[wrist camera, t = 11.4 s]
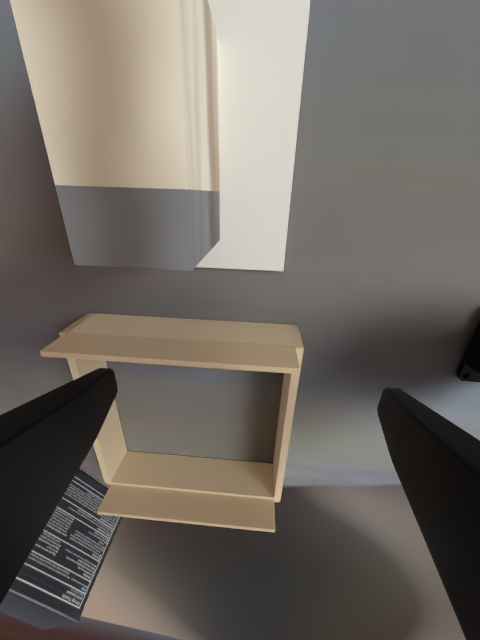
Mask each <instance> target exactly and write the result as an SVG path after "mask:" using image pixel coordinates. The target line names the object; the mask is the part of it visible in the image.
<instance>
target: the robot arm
mask: <svg viewBox="0 0 480 640" xmlns="http://www.w3.org/2000/svg"><path fill="white" fill-rule="evenodd" d="M465 373H466V374H465ZM464 374H465V375H464ZM456 376H457V377H458V378H459V379H460V380H462V381H473V382H480V323H479V325H478V327H477V329H476V331H475V333H474V336H473V338H472V340H471V342H470V344H469V346H468V348H467V351H466V353H465V355H464V357H463V359H462V361H461V363H460V365H459V368H458V370H457V372H456ZM116 394H117V383H116V379H115V374H114V371H113V370H112V369H111V368H98V369H96V370H94V371H92V372H90V373H88V374H86V375H84V376H81V377H79V378H77V379H75V380H73V381H71V382H69V383H67V384H65V385H63V386H61V387H58V388H56V389H54V390H52V391H50V392H48V393H46V394H44V395H42V396H40V397H38V398H35V399H33V400H31V401H29V402H27V403H25V404H23V405H21V406H19V407H17V408H15V409H12V410H10V411H8V412H6V413H4V414H2V415H0V605H1V603H2V602H3V600H4V598H5V596H6V595H7V593H8V591H9V589H10V588H11V586H12V584H13V582H14V581H15V579H16V577H17V576H18V574H19V572H20V570H21V569H22V567H23V565H24V563H25V562H26V560H27V558H28V556H29V555H30V553H31V551H32V549H33V548H34V546H35V544H36V543H37V541H38V539H39V537H40V536H41V534H42V532H43V530H44V529H45V527H46V525H47V523H48V522H49V520H50V518H51V516H52V515H53V513H54V511H55V510H56V508H57V506H58V504H59V503H60V501H61V499H62V497H63V496H64V494H65V492H66V490H67V489H68V487H69V485H70V483H71V482H72V480H73V478H74V477H75V475H76V473H77V471H78V470H79V468H80V466H81V464H82V463H83V461H84V459H85V457H86V456H87V454H88V452H89V450H90V449H91V447H92V445H93V444H94V442H95V440H96V438H97V436H98V434H99V432H100V430H101V428H102V426H103V424H104V421H105V419H106V417H107V415H108V412H109V410H110V408H111V406H112V404H113V401H114V399H115V397H116ZM377 411H378V416H379V420H380V423H381V426H382V430H383V433H384V436H385V440H386V443H387V446H388V450H389V453H390V456H391V459H392V462H393V464H394V467H395V470H396V472H397V474H398V477H399V479H400V482H401V484H402V486H403V489H404V491H405V494H406V496H407V498H408V501H409V503H410V506H411V508H412V510H413V513H414V515H415V518H416V520H417V522H418V525H419V527H420V530H421V532H422V535H423V536H424V539H425V542H426V544H427V547H428V549H429V551H430V554H431V556H432V559H433V561H434V563H435V566H436V568H437V571H438V573H439V576H440V578H441V580H442V583H443V585H444V588H445V590H446V592H447V595H448V597H449V599H450V602H451V604H452V607H453V609H454V612H455V614H456V616H457V619H458V621H459V624H460V626H461V628H462V631H463V633H464V636H465V638H466V640H480V441H479V440H478V439H476V438H475V437H473V436H472V435H470V434H468V433H467V432H465V431H464V430H462V429H461V428H459V427H458V426H456V425H455V424H453V423H452V422H450V421H449V420H447V419H445V418H444V417H442V416H441V415H439V414H438V413H436V412H435V411H433V410H432V409H430V408H429V407H427V406H425V405H424V404H422V403H421V402H419V401H418V400H416V399H415V398H413V397H412V396H410V395H409V394H407V393H405V392H404V391H402V390H401V389H399V388H388V387H387V388H385V389H384V390H383V392H382V395H381V398H380V401H379V404H378V409H377Z"/></svg>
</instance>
